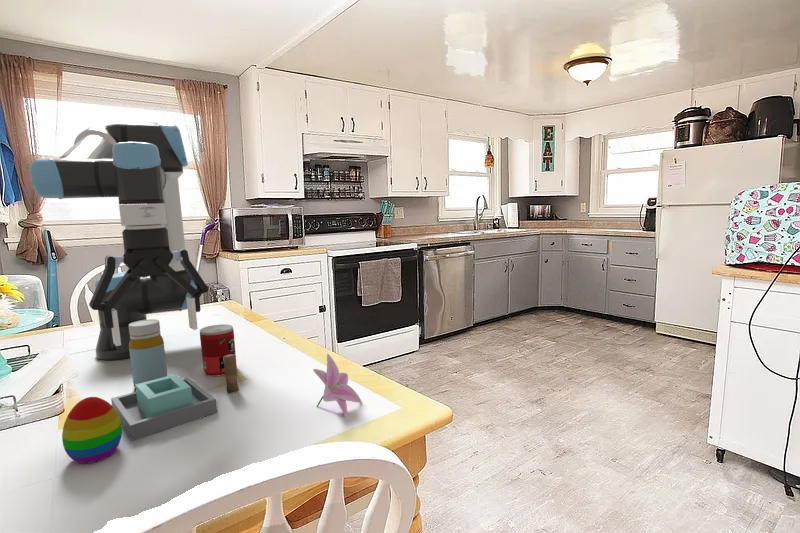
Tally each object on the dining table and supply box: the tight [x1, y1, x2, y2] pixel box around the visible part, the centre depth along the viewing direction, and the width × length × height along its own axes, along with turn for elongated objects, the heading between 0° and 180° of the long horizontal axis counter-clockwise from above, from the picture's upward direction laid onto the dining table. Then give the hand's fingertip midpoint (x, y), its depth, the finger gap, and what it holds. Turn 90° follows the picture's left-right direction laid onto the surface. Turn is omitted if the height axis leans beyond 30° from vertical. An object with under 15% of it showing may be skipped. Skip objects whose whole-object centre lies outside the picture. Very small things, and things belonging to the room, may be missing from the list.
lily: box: [312, 353, 362, 417], centre depth 89 cm, size 12×12×10 cm
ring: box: [135, 373, 193, 418], centre depth 90 cm, size 8×12×5 cm, turn 43°
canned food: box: [199, 323, 237, 377], centre depth 112 cm, size 8×8×11 cm
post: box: [224, 354, 240, 394], centre depth 99 cm, size 2×2×8 cm
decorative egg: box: [61, 396, 123, 464], centre depth 74 cm, size 8×8×10 cm
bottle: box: [129, 318, 168, 389], centre depth 104 cm, size 7×7×15 cm
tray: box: [110, 377, 218, 441], centre depth 90 cm, size 16×15×3 cm
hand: (157, 335), depth 88 cm, fingers open, 13 cm apart
